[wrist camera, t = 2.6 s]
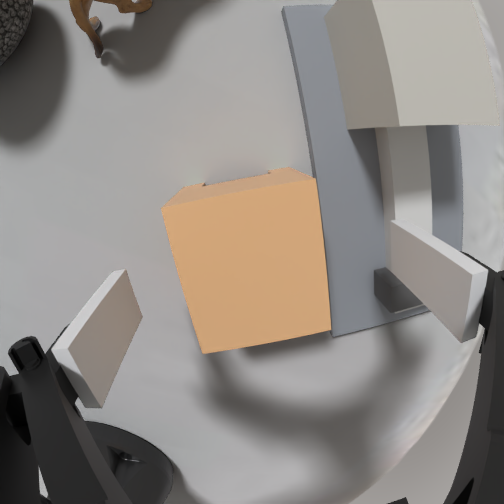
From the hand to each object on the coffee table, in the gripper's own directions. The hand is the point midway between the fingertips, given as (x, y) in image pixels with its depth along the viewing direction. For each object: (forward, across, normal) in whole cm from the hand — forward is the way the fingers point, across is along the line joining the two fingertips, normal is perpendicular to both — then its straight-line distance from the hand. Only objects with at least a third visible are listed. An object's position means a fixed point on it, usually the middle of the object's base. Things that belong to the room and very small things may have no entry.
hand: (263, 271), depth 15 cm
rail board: (+7, +10, +3) cm, 13 cm away
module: (+7, -1, 0) cm, 7 cm away
